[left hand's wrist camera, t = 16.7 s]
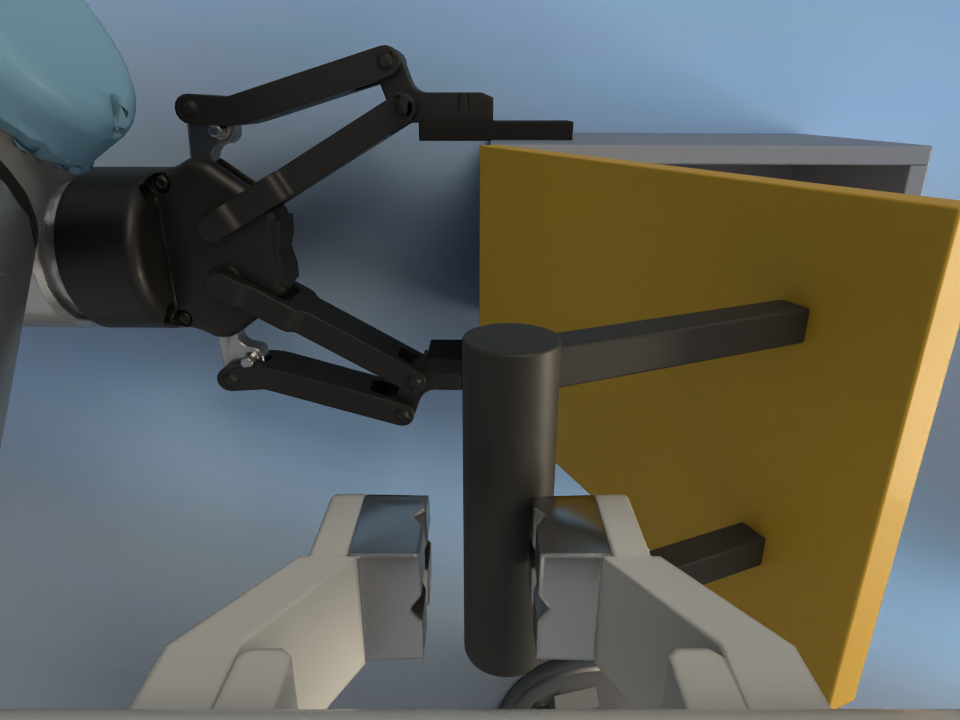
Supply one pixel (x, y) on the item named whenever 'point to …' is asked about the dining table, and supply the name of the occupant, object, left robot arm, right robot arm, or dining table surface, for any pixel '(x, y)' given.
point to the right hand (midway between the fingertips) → (563, 250)
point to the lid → (704, 385)
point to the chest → (762, 156)
